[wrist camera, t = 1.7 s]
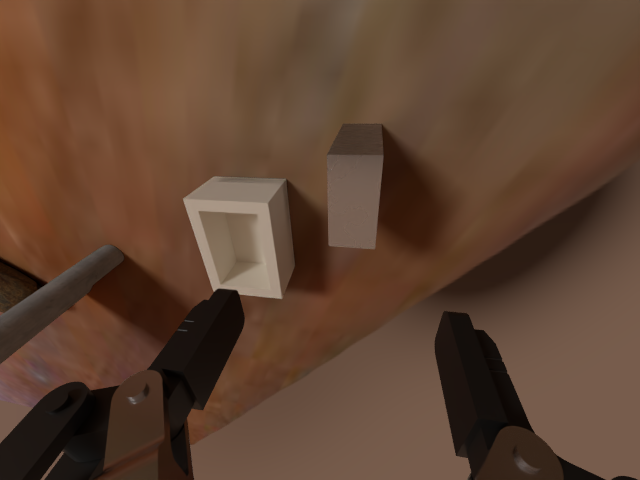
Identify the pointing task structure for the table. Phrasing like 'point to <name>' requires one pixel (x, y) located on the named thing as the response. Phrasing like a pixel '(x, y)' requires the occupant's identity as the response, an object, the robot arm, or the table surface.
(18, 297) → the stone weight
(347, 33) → the table surface
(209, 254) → the hollow off-white angular block
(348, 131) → the tall brushed metal block
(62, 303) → the hip flask
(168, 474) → the robot arm
